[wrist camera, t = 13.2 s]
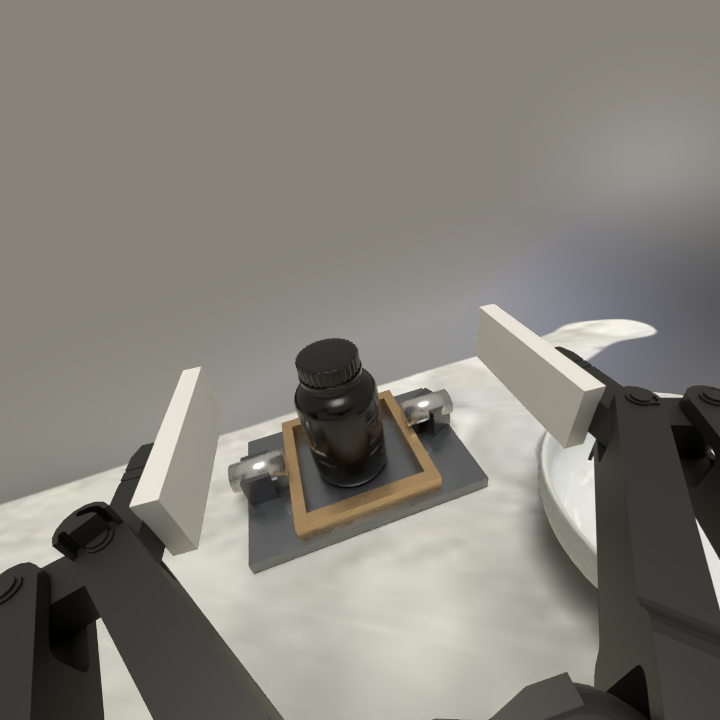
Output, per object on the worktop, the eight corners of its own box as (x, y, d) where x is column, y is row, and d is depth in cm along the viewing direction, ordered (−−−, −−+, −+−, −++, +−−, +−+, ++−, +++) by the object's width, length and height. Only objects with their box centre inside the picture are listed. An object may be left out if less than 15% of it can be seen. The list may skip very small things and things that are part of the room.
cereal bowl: (653, 428, 31) (684, 367, 27) (964, 652, 17) (1119, 593, 13) (485, 481, 29) (491, 424, 25) (681, 780, 15) (763, 757, 11)
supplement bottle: (306, 486, 30) (263, 381, 23) (328, 429, 35) (299, 331, 28) (381, 494, 28) (358, 383, 21) (393, 433, 33) (378, 329, 27)
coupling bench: (247, 576, 25) (223, 544, 23) (247, 451, 36) (231, 419, 33) (489, 485, 28) (494, 448, 26) (424, 395, 39) (422, 362, 36)
